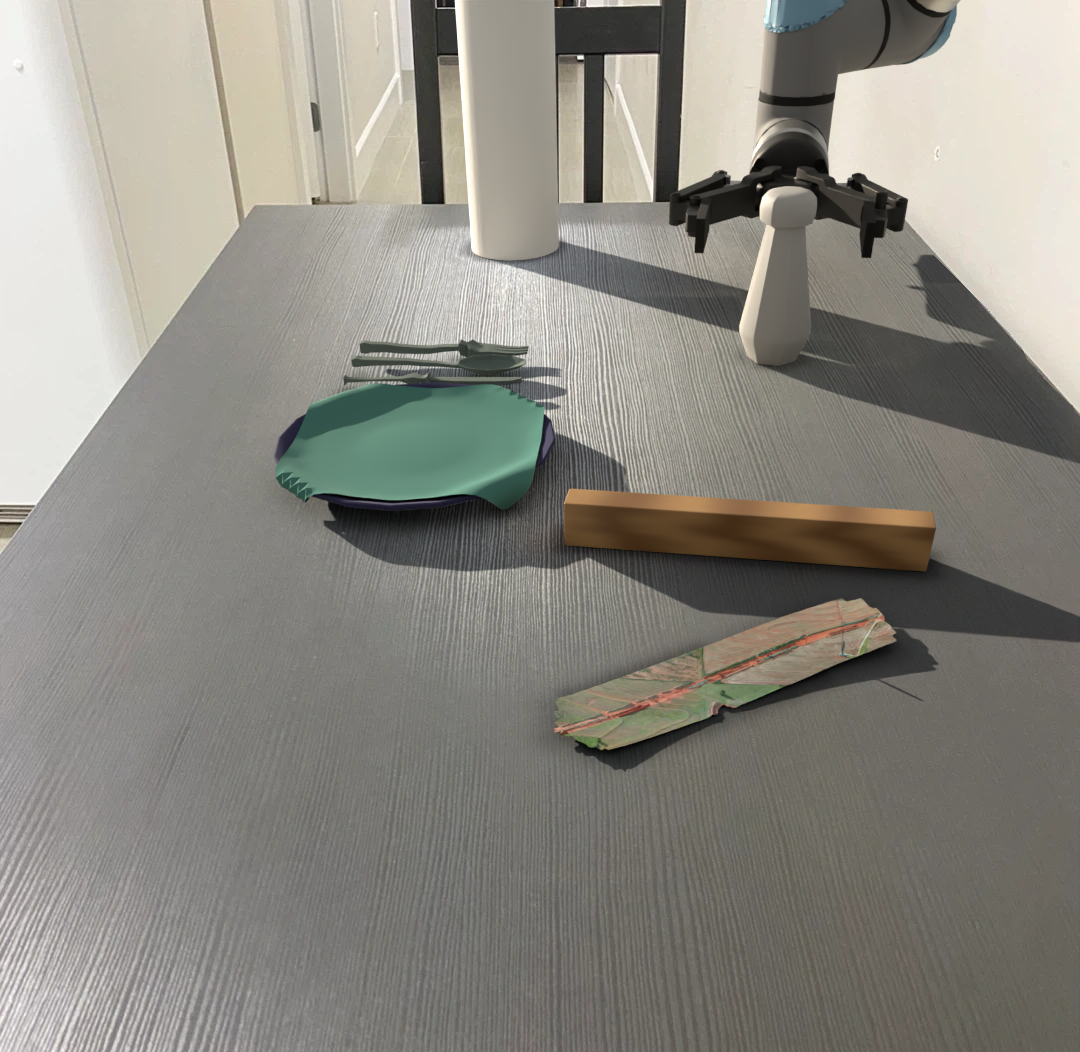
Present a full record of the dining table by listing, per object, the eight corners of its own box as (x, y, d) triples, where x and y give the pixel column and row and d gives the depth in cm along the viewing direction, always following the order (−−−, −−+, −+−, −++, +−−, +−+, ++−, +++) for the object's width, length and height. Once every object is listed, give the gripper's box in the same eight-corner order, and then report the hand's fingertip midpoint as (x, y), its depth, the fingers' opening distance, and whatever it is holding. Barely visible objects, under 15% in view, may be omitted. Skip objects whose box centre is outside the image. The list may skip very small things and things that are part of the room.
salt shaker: (730, 345, 94) (743, 182, 85) (795, 341, 94) (815, 177, 86) (747, 372, 89) (763, 201, 81) (815, 367, 90) (838, 197, 81)
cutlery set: (244, 530, 71) (236, 499, 70) (342, 356, 94) (338, 329, 93) (546, 534, 70) (545, 502, 68) (571, 356, 93) (570, 329, 91)
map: (533, 717, 56) (532, 703, 56) (848, 592, 63) (850, 578, 62) (581, 775, 53) (580, 760, 52) (909, 636, 59) (912, 622, 59)
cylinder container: (481, 264, 113) (458, -97, 94) (464, 238, 120) (440, -101, 101) (568, 254, 115) (563, -102, 95) (547, 230, 122) (538, -107, 102)
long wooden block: (923, 554, 67) (933, 511, 65) (926, 572, 65) (936, 528, 63) (569, 530, 70) (569, 488, 68) (564, 545, 69) (563, 503, 67)
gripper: (915, 217, 105) (932, 290, 89) (658, 211, 110) (630, 280, 94) (930, 131, 101) (952, 191, 85) (661, 128, 105) (632, 185, 89)
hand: (783, 238), depth 89 cm, fingers open, 13 cm apart
